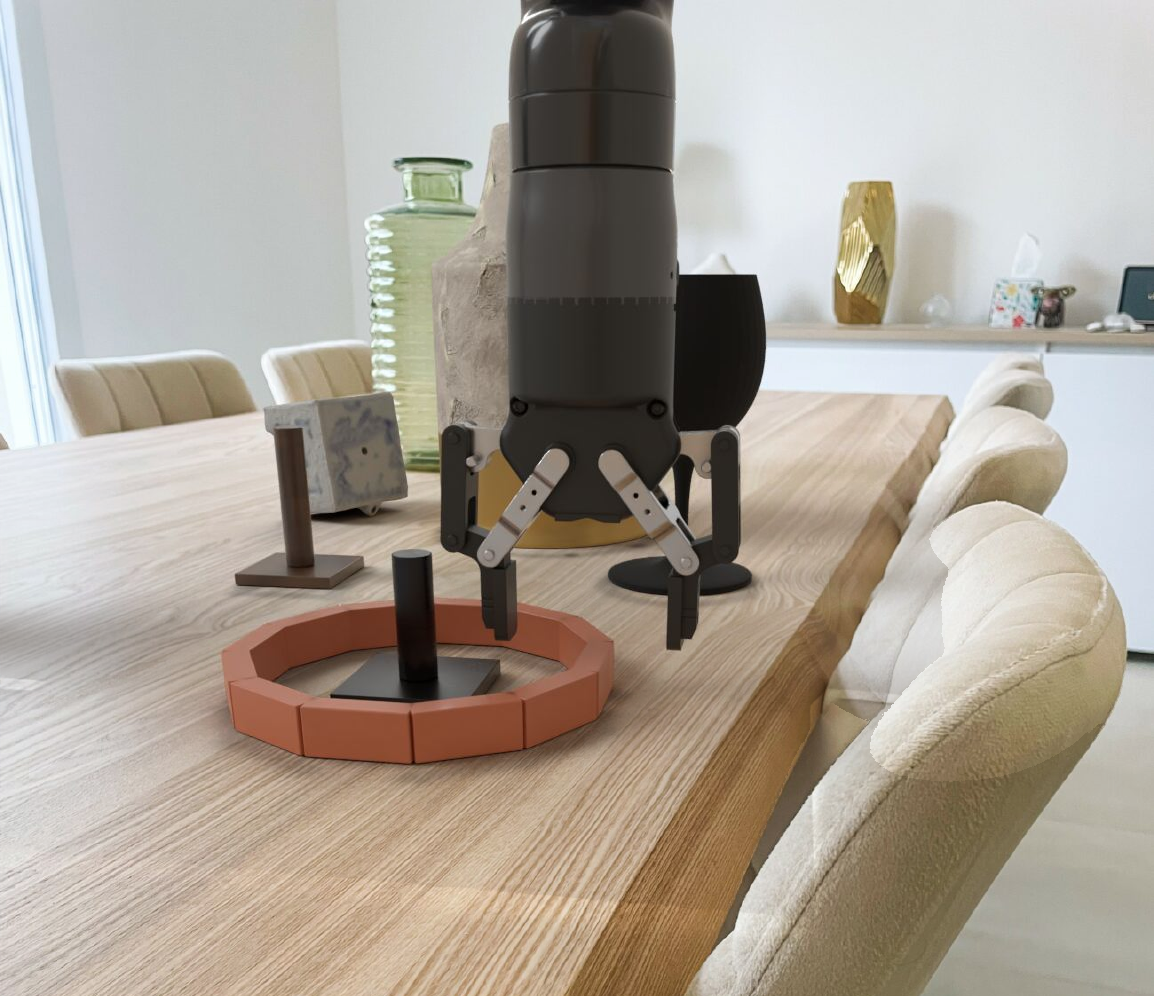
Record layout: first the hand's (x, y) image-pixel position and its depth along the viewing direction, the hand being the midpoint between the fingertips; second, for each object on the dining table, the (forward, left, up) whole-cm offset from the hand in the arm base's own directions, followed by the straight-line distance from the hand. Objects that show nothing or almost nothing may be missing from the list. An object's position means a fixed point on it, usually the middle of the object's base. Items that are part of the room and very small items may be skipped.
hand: (590, 641), depth 57 cm
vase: (-11, +44, -3) cm, 45 cm away
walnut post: (-25, +23, -3) cm, 34 cm away
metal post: (-9, 0, -3) cm, 10 cm away
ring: (-9, 0, -3) cm, 9 cm away
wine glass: (+2, +27, -3) cm, 27 cm away
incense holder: (-31, +47, -3) cm, 56 cm away
